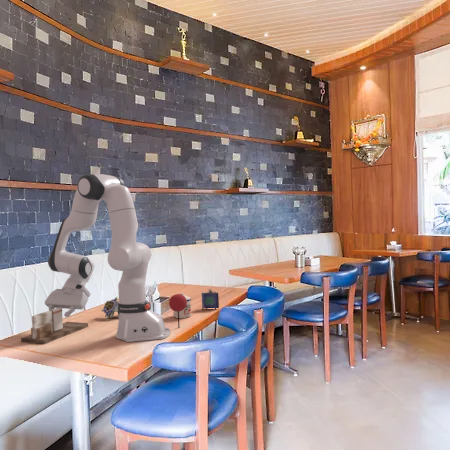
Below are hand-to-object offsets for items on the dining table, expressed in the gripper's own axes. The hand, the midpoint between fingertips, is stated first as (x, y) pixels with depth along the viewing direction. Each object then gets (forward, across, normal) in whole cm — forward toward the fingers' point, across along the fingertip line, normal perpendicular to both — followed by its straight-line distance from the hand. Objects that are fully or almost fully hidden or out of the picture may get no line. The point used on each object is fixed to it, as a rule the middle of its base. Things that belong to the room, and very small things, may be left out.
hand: (57, 315), depth 177 cm
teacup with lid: (-24, +41, +34) cm, 59 cm away
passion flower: (-16, +8, +28) cm, 33 cm away
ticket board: (+6, 0, +5) cm, 8 cm away
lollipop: (-9, +49, +20) cm, 53 cm away
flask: (-36, +49, +46) cm, 76 cm away
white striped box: (+5, 0, +4) cm, 6 cm away
